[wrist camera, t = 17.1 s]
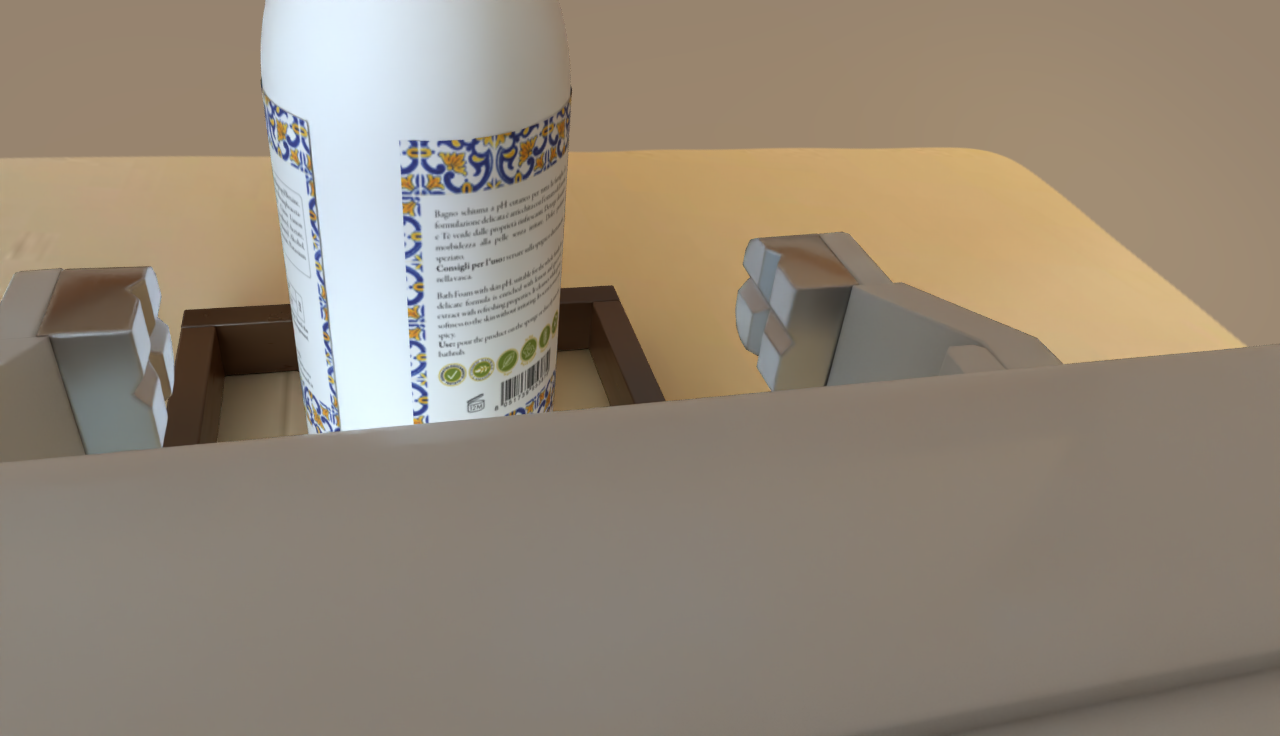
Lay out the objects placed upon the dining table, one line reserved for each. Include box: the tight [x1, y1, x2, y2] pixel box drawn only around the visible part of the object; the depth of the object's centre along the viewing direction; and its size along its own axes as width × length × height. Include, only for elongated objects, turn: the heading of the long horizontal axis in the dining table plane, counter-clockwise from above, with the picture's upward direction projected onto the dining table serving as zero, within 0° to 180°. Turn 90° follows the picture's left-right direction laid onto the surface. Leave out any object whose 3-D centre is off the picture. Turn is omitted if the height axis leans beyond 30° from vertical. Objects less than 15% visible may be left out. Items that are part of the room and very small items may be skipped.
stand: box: [162, 285, 665, 448], centre depth 28 cm, size 13×14×2 cm
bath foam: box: [261, 0, 572, 434], centre depth 23 cm, size 7×7×20 cm
